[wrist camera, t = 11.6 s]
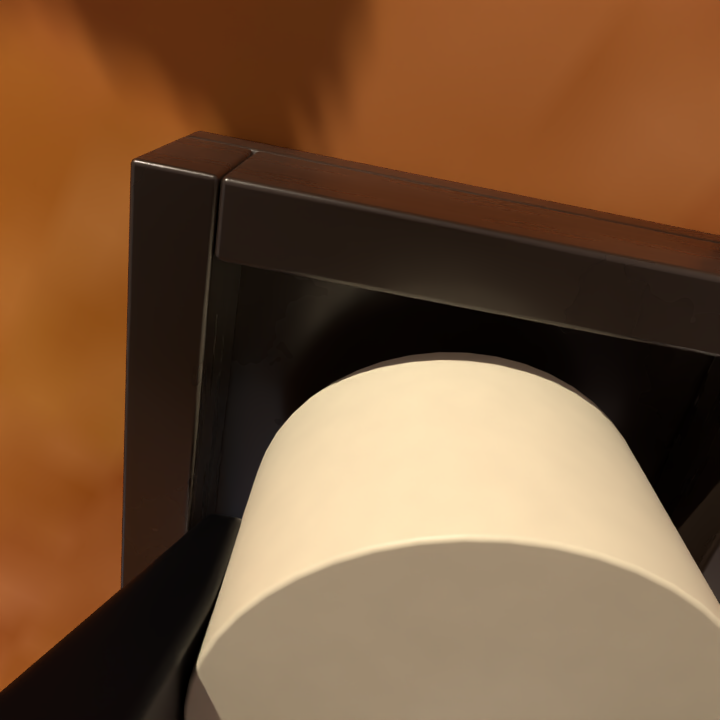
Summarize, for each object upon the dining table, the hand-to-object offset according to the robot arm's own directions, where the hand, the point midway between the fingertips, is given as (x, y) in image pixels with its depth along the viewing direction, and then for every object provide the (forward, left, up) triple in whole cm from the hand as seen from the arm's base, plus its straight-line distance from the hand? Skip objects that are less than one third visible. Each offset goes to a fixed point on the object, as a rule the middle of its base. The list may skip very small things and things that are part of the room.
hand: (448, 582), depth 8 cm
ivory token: (0, 0, -1) cm, 1 cm away
